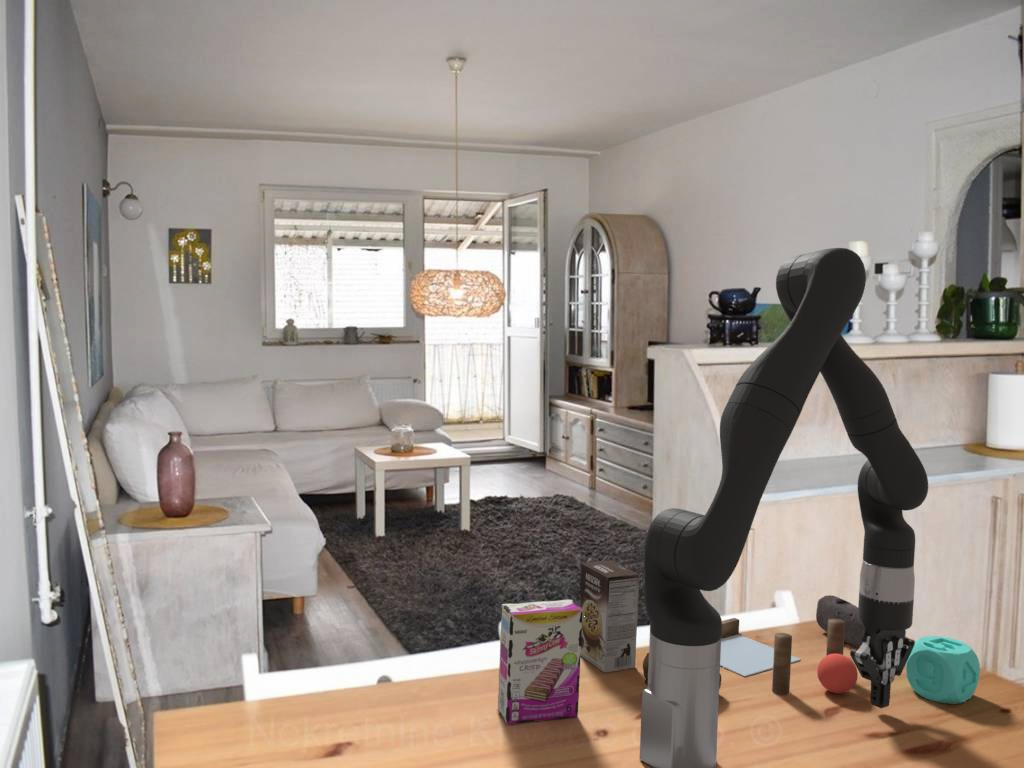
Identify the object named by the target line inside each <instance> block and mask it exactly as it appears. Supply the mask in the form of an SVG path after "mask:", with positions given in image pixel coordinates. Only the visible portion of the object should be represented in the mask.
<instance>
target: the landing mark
mask: <svg viewBox="0 0 1024 768" xmlns="http://www.w3.org/2000/svg"><path fill="white" fill-rule="evenodd" d="M801 659H802V658H799V657H797V656H794V655H792V654H791V664H793V663H797V662H799V661H801ZM773 662H774V647H773V646H772V647H771V646H770V645H767V644H764V643H762V642H759V641H757V640H754V639H751V638H750V637H746V636H744V635H742V634H739V633H737V634H733V635H729V636H725V637H722V638H721V656H720V667H721V666H722V667H721V668H723V667H724V668H723V669H726V670H728V671H731V672H733V673H734V672H735V674H737V675H739V674H740V675H739V676H741V675H742V677H743V676H744V677H743V678H745V677H748V676H749V677H750V676H752V675H755V674H759V673H762V672H767V671H769V670H773Z"/></svg>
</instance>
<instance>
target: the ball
mask: <svg viewBox="0 0 1024 768" xmlns="http://www.w3.org/2000/svg"><path fill="white" fill-rule="evenodd" d="M816 674H817V678H818V681H819V682H820V685H822V687H824V688H825V690H827V691H829V692H830V693H834V694H845V693H849V692H850V691H851V690H852V689H854V687H855V686H856V684H857V682H858V675H859V674H858V669H857V667H856V665H855V663H854V661H853V660H852V659H850V658H849V657H848V656H846V655H844V654H843V655H842V654H829V655H827V656H826V655H825V656H824V657H823V658H821V660H820V661H819V663H818V665H817V670H816Z"/></svg>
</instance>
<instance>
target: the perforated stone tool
mask: <svg viewBox="0 0 1024 768" xmlns="http://www.w3.org/2000/svg"><path fill="white" fill-rule="evenodd" d="M815 619H816V623H817V625H818V626H819V627H820V629H822V630H823V631H825V632H826V634H828V620H829V619H839V620H843V621H844V622H845V631H844V644H845V643H846V644H848V645H851V646H852V647H854V648H855V647H856V648H857V649H859V648H860V646H861V645H862V644H863V643H862V635H863V632H864V625H863V624H862V622H861V621H860V620H859V619H858V606H856V605H855V604H853V603H851V602H849V601H847V600H845V599H843V598H840V597H839V596H835V595H824V596H823V597H821V598H819V599H818V600H817V607H816V612H815Z"/></svg>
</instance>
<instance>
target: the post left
mask: <svg viewBox="0 0 1024 768" xmlns="http://www.w3.org/2000/svg"><path fill="white" fill-rule="evenodd" d="M773 645H774V646H773V648H774V662H773V669H772V683H771V684H772V686H771V691H772V693H773V694H775V695H779V696H787V695H790V686H791V684H790V683H791V665H792V663H791V655H792V648H793V647H792V645H793V636H792V635H791V634H788V633H785V632H777V633H774V644H773Z"/></svg>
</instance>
